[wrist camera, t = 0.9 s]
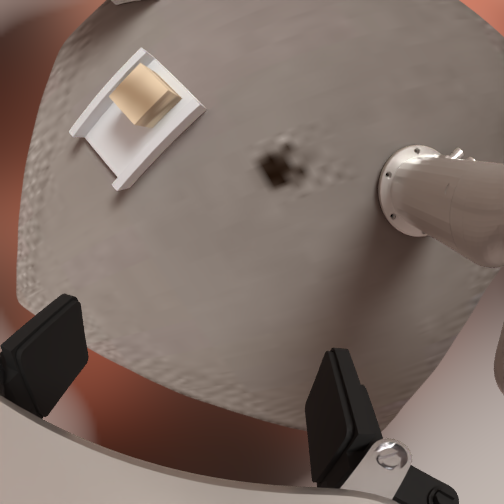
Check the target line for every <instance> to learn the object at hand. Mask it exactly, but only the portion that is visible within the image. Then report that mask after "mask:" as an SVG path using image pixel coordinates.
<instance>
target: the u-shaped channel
mask: <svg viewBox="0 0 504 504" xmlns="http://www.w3.org/2000/svg"><path fill="white" fill-rule="evenodd" d="M140 63H142V64H143V65H145V66H146V67H148V68H150V69H151V70H153V71H154V72H156V73H157V74H158V75H159V76H160V77H161V78H162V79H163V80H164V81H165V82H166V83H167V84H168V85H169V86H170V87H171V88H172V89H173V90H174V91H175V92H176V93H177V94H178V95H179V96H180V97H181V98H182V99H181V100H180V101H179V102H178V103H177V104H176V105H175V106H174V107H173V108H172V109H171V110H170V111H169V112H168V113H167V114H166V115H165V116H164V117H163V118H162V119H161V120H160V121H159V122H158V123H157V124H156V125H155V126H154V127H153V128H148V127H143V126H138V125H134V124H133V123H132V122H131V121H130V120H129V118H128V117H127V116H126V115H125V114H124V113H123V112H122V111H121V110H120V108H119V107H118V106H117V105H116V104H115V103H114V102H113V101H112V100H111V99H110V97H109V96H110V95H111V93H112V92H113V91H114V90H115V89H116V88H117V87H118V86H119V84H120V83H121V82H122V81H123V80H124V79H125V78H126V77H127V76H128V75H129V74H130V73H131V72H132V71H133V70H134V69H135V68H136V67H137V66H138V65H139V64H140ZM206 110H207V109H206V108H205V107H204V106H203V105H202V104H201V103H200V102H199V100H198V99H197V98H196V97H195V96H194V95H193V94H192V93H191V92H190V91H189V90H188V89H187V88H186V87H185V86H184V85H183V84H182V83H180V82H179V81H178V80H177V79H176V78H175V77H174V76H173V75H172V74H171V73H170V72H169V71H168V70H167V69H166V68H165V67H164V66H163V65H162V64H161V63H160V62H159V61H158V60H157V59H156V58H154V57H153V56H152V55H151V54H150V53H148V52H147V51H146V50H144V49H143V48H142V47H141V48H140V49H139V50H138V51H137V52H136V53H135V54H134V55H133V56H132V57H131V58H130V59H129V60H128V61H127V62H126V63H125V64H124V65H123V66H122V67H121V69H120V70H119V71H118V72H117V73H116V74H115V75H114V76H113V77H112V78H111V79H110V81H109V82H108V83H107V84H106V85H105V86H104V87H103V89H102V90H101V91H100V92H99V93H98V94H97V96H96V97H95V98H94V99H93V100H92V102H91V103H90V104H89V105H88V107H87V108H86V109H85V111H84V112H83V113H82V114H81V116H80V117H79V118H78V120H77V121H76V122H75V124H74V125H73V126H72V128H71V129H70V131H69V133H70V134H71V135H72V137H85V138H86V140H87V141H88V142H89V143H90V145H91V146H92V147H93V148H94V149H95V151H96V152H97V153H98V154H99V156H100V157H101V158H102V159H103V160H104V162H105V163H106V164H107V165H108V166H109V167H110V169H111V170H112V171H113V172H114V173H115V175H116V176H117V177H118V178H117V179H116V180H115V181H114V182H113V184H112V186H113V187H114V188H115V189H116V191H120V190H124V189H127V188H130V187H131V186H132V185H133V184H134V183H135V182H136V180H137V179H138V178H139V177H140V176H141V175H142V174H143V173H144V172H145V171H146V169H147V168H148V167H149V166H150V165H151V164H152V163H153V162H154V161H155V160H156V159H157V158H158V157H159V156H160V155H161V154H162V152H163V151H164V150H165V149H166V148H167V147H168V146H169V145H170V144H171V143H172V142H173V141H174V140H175V139H176V138H177V137H178V136H179V135H180V134H181V133H182V132H183V131H185V130H186V129H187V128H188V127H189V126H190V125H191V124H192V123H193V122H194V121H195V120H196V119H197V118H198V117H199V116H200V115H202V114H203V113H204V112H205V111H206Z"/></svg>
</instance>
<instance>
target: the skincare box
mask: <svg viewBox="0 0 504 504" xmlns="http://www.w3.org/2000/svg"><path fill="white" fill-rule="evenodd" d="M111 1H112V2H113V3H114V4H116V5H118V4H122V3H126V2H132V1H139V0H111Z"/></svg>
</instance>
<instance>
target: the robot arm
mask: <svg viewBox="0 0 504 504" xmlns="http://www.w3.org/2000/svg"><path fill="white" fill-rule="evenodd" d="M414 149H415V152H414ZM462 156H463V152H462V150H461V149H460V148H456V149H455V150H454V151H453V152H452V153H451V154H450V155H441V154H440V153H439V152H438V151H436V150H434V149H433V148H430V147H427V146H423V145H411V146H407V147H404V148H402V149H400V150H398V151H396V152H395V153H394V154H393V155H392V156H391V157H390V158H389V159H388V160H387V162H386V163H385V165H384V167H383V169H382V172H381V175H380V178H379V185H378V197H379V202H380V206H381V209H382V211H383V214H384V215H385V217H386V219H387V220H388V221H389V223H390V224H391V225H392V226H393V227H395V228H396V229H397V230H399V231H400V232H402V233H404V234H406V235H409V236H413V237H424V236H427V235H430V236H431V237H433V238H435V239H436V240H438V241H440V242H441V243H443V244H445V245H446V246H448V247H450V248H451V249H453V250H454V251H456V252H458V253H459V254H461V255H462V256H464V257H465V258H467V259H469V260H471V261H472V262H474V263H476V264H478V265H480V266H483V267H486V268H499V267H503V266H504V164H501V163H493V162H484V161H475V159H473V158H472V157H468V158H467V159H466V160H464V159H460V158H461V157H462ZM386 173H388V176H386ZM391 214H392V217H390V215H391ZM1 349H2V352H1V353H0V504H459V499H458V495H457V493H456V491H455V490H454V489H453V488H452V487H450V486H449V485H447V484H445V483H443V482H441V481H439V480H437V479H435V478H433V477H431V476H430V475H428V474H426V473H424V472H422V471H420V470H419V469H417V468H415V467H413V466H412V465H411V462H412V455H411V453H410V450H409V449H408V448H407V447H406V445H405V444H403V443H402V442H400V441H398V440H395V439H389V438H387V439H383V437H382V434H381V431H380V428H379V425H378V422H377V419H376V416H375V413H374V410H373V407H372V404H371V401H370V398H369V395H368V393H367V390H366V388H365V386H364V385H361V384H360V381H359V378H358V375H357V373H356V370H355V367H354V364H353V361H352V359H351V356H350V353H349V351H348V349H341V348H332V349H331V350H330V351H326V352H325V355H324V357H323V360H322V363H321V365H320V368H319V371H318V373H317V376H316V379H315V381H314V384H313V386H312V389H311V391H310V394H309V396H308V399H307V401H306V405H305V414H306V424H307V433H308V442H309V453H310V464H311V474H312V481H313V482H317V487H297V486H278V485H267V484H258V483H249V482H240V481H233V480H226V479H220V478H214V477H208V476H203V475H198V474H193V473H189V472H184V471H180V470H175V469H172V468H168V467H164V466H160V465H156V464H153V463H150V462H146V461H142V460H140V459H136V458H133V457H130V456H127V455H124V454H121V453H118V452H115V451H113V450H110V449H107V448H105V447H102V446H100V445H97V444H94V443H92V442H90V441H87V440H85V439H83V438H80V437H78V436H76V435H74V434H71V433H69V432H67V431H65V430H63V429H61V428H59V427H57V426H55V425H53V424H51V423H48V422H47V421H45V420H43V419H42V418H43V417H46V416H48V414H49V413H50V412H51V410H52V409H53V408H54V406H55V405H56V404H57V402H58V401H59V399H60V398H61V397H62V395H63V394H64V393H65V391H66V390H67V389H68V387H69V386H70V385H71V383H72V382H73V381H74V379H75V378H76V377H77V375H78V374H79V373H80V371H81V370H82V369H83V368H84V366H85V365H86V364H87V361H88V351H87V345H86V339H85V333H84V326H83V319H82V311H81V304H80V302H78V299H77V298H76V297H74V296H71V295H67V294H62V295H61V296H59V297H58V298H57V299H55V300H54V301H53V302H52V303H50V304H49V305H48V306H47V307H45V308H44V309H43V310H42V311H40V312H39V313H38V314H37V315H36V316H34V317H33V318H32V319H31V320H30V321H28V322H27V323H26V324H25V325H23V326H22V327H21V328H20V329H19V330H18V331H16V332H15V333H14V334H13V335H12V336H11V337H9V338H8V339H7V340H6V341H5V342H4V343H3V344H2V345H1ZM494 374H495V380H496V382H497V385H498V387H499V389H500V391H501V392H502V393H503V395H504V323H503V327H502V331H501V335H500V339H499V342H498V346H497V350H496V355H495V361H494Z"/></svg>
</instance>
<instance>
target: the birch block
mask: <svg viewBox="0 0 504 504" xmlns="http://www.w3.org/2000/svg"><path fill="white" fill-rule="evenodd" d="M109 97H110V99H111V100H112V101H113V102H114V103H115V104H116V105H117V106H118V107H119V108H120V110H121V111H122V112H123V113H124V114H125V115H126V116H127V117H128V118H129V120H130V121H131V122H132V123H133V124H134V125H138V126H143V127H148V128H153V127H154V126H155V125H156V124H157V123H158V122H159V121H160V120H161V119H162V118H163V117H164V116H165V115H166V114H167V113H168V112H169V111H170V110H171V109H172V108H173V107H174V106H175V105H176V104H177V103H178V102H179V101H180V100H181V99H182V98H181V97H180V96H179V95H178V94H177V93H176V92H175V91H174V90H173V89H172V88H171V87H170V86H169V85H168V84H167V83H166V82H165V81H164V80H163V79H162V78H161V77H160V76H159V75H158V74H157V73H156V72H154V71H153V70H151V69H150V68H148V67H146V66H145V65H143V64H142V63H140V64H139V65H138V66H137V67H136V68H135V69H134V70H133V71H132V72H131V73H130V74H129V75H128V76H127V77H126V78H125V79H124V80H123V81H122V82H121V83H120V84H119V86H118V87H117V88H116V89H115V90H114V91H113V92H112V93H111V95H110V96H109Z"/></svg>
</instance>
